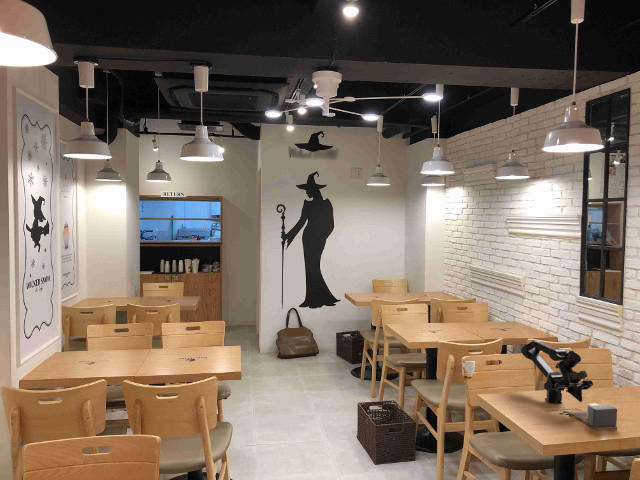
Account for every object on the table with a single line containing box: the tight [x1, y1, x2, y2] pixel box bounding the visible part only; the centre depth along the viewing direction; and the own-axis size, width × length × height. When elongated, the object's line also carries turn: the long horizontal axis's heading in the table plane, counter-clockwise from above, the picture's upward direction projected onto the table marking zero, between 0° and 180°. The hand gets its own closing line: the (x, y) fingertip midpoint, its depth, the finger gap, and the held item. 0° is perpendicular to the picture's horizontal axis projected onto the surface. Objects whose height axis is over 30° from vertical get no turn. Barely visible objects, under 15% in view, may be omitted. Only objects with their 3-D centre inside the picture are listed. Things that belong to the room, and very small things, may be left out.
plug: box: [586, 402, 600, 419], centre depth 238 cm, size 6×5×7 cm
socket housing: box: [588, 404, 618, 427], centre depth 235 cm, size 5×11×8 cm, turn 102°
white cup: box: [461, 360, 476, 377], centre depth 310 cm, size 8×8×10 cm
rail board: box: [566, 410, 618, 431], centre depth 241 cm, size 20×10×1 cm, turn 12°
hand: (581, 401), depth 248 cm, fingers closed
